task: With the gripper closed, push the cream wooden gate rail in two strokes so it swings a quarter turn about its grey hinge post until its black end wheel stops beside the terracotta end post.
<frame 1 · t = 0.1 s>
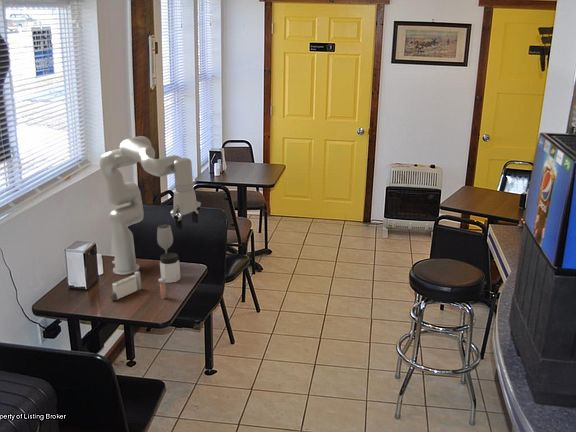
hand: (187, 225, 276), 31 cm above the table, tool pointing down, fingers open, 9 cm apart
wineglass: (167, 267, 314), on the table
gate: (126, 285, 282), point 4 cm above the table, hinge at 0.0°
end post: (163, 297, 279), on the table
jar: (171, 280, 299), on the table
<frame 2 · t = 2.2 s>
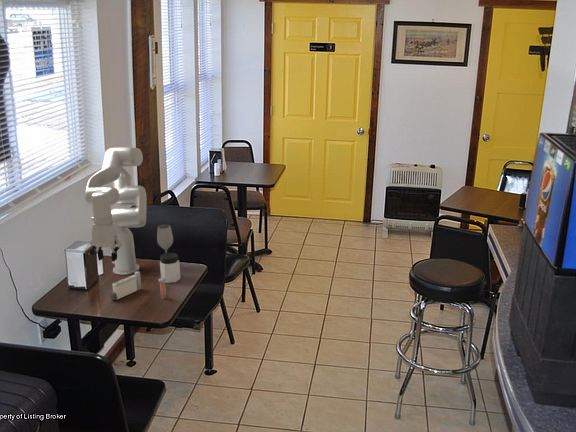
hand: (107, 259, 277), 18 cm above the table, tool pointing down, fingers open, 5 cm apart
nothing on the table moved.
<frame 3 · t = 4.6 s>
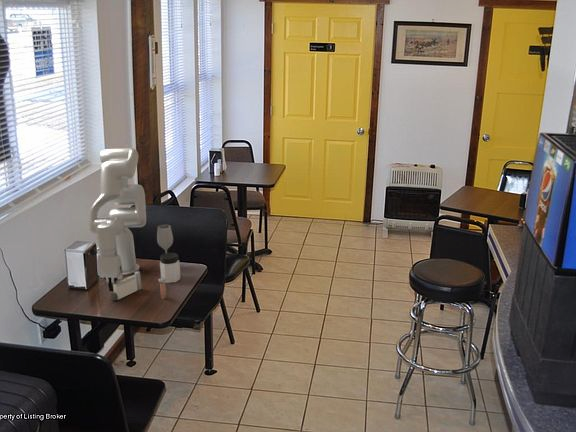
hand: (112, 290, 281), 3 cm above the table, tool pointing down, fingers closed
gate: (126, 285, 282), point 4 cm above the table, hinge at 2.1°, touching gripper
everything else where it was.
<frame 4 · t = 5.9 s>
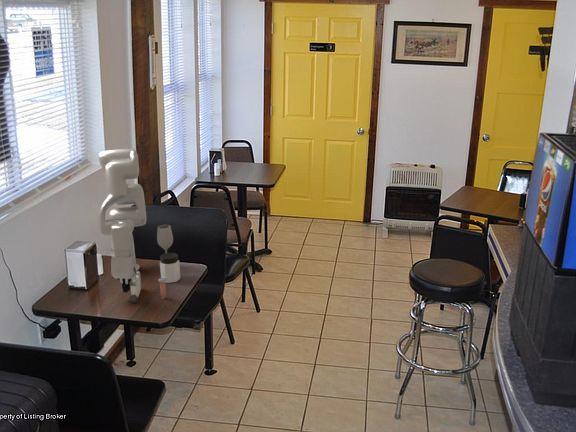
hand: (126, 291, 279), 3 cm above the table, tool pointing down, fingers closed
gate: (135, 286, 281), point 4 cm above the table, hinge at 41.1°, touching gripper
everything else where it was.
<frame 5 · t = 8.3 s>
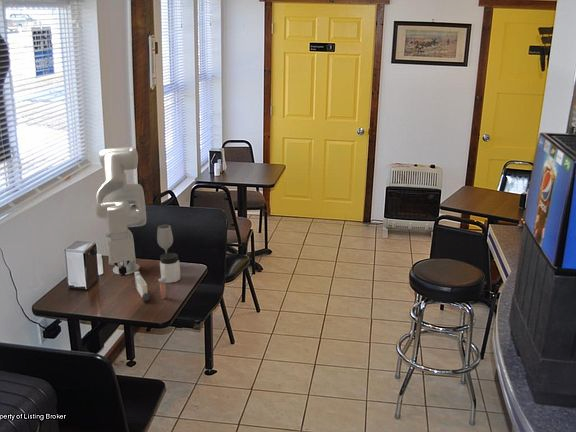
hand: (123, 275, 273), 12 cm above the table, tool pointing down, fingers closed
gate: (141, 286, 282), point 4 cm above the table, hinge at 62.3°
everything else where it was.
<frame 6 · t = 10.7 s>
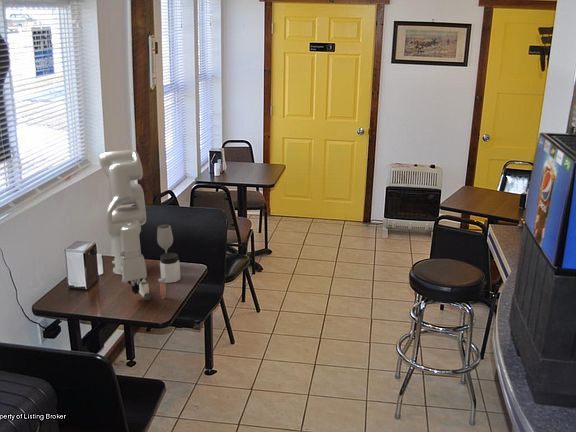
hand: (136, 292, 278), 3 cm above the table, tool pointing down, fingers closed
gate: (142, 285, 282), point 4 cm above the table, hinge at 65.3°, touching gripper
everything else where it was.
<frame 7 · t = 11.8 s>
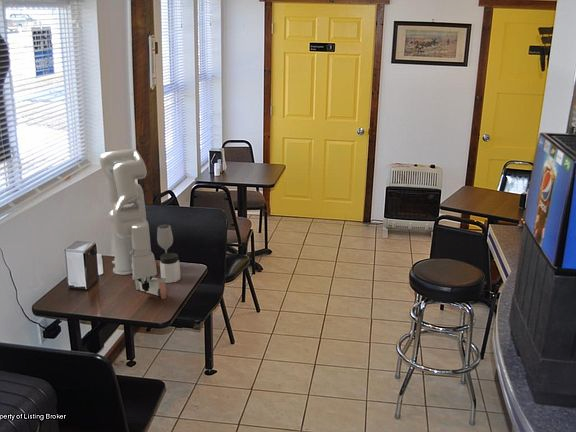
hand: (146, 290, 280), 3 cm above the table, tool pointing down, fingers closed
gate: (148, 283, 284), point 4 cm above the table, hinge at 92.7°, touching gripper
everything else where it was.
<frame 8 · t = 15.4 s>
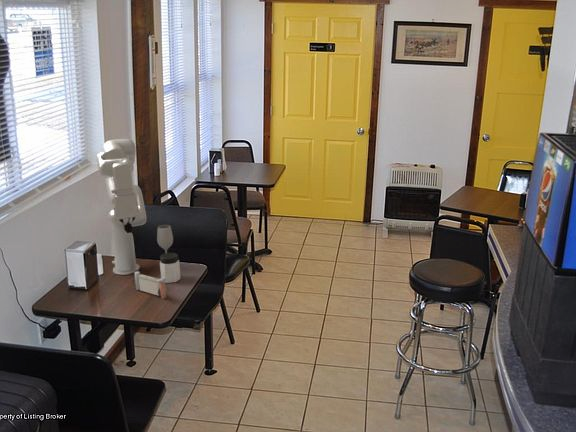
hand: (128, 232, 276), 29 cm above the table, tool pointing down, fingers closed
gate: (148, 283, 284), point 4 cm above the table, hinge at 93.2°
everything else where it was.
at the end: gate at +93° (first picture: +0°); gate touching nothing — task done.
